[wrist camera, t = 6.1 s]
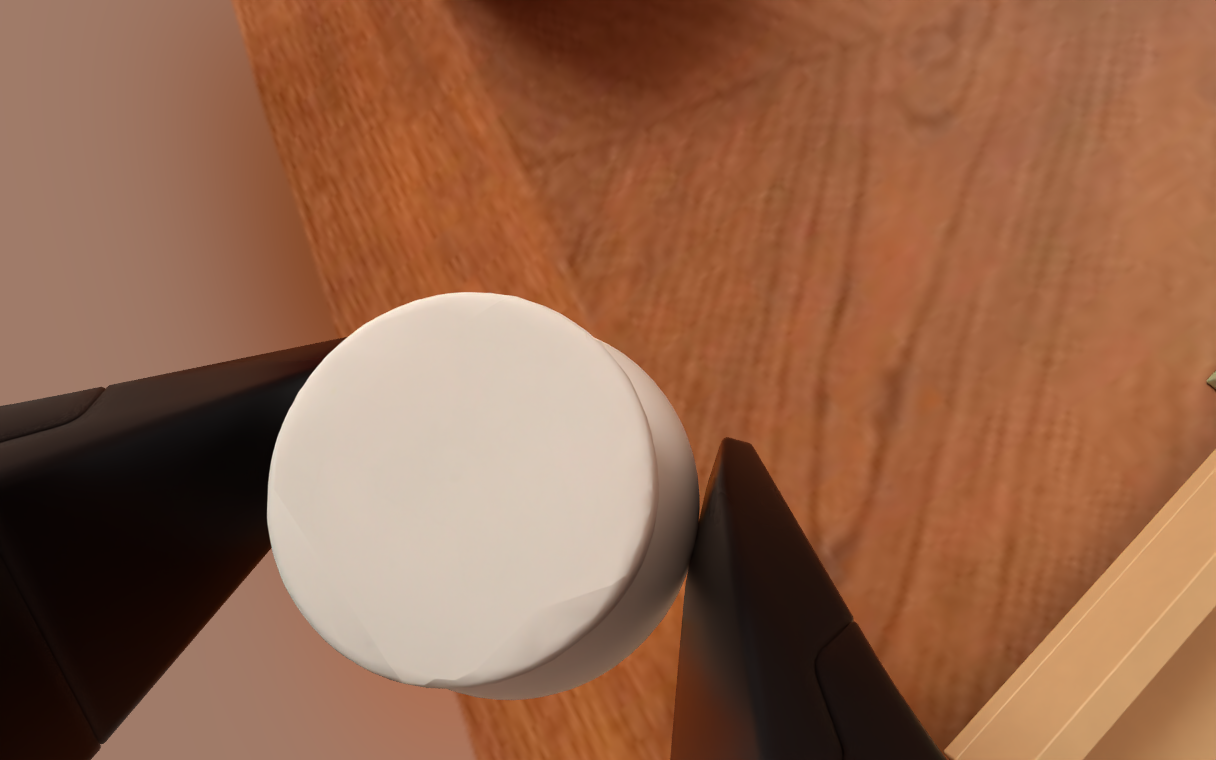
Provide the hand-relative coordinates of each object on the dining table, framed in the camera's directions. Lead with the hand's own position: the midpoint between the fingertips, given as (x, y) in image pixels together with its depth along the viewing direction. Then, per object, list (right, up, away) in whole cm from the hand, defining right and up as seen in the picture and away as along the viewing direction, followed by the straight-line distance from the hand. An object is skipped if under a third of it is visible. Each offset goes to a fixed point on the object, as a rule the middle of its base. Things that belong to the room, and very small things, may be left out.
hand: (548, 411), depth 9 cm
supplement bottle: (0, -3, +6) cm, 7 cm away
